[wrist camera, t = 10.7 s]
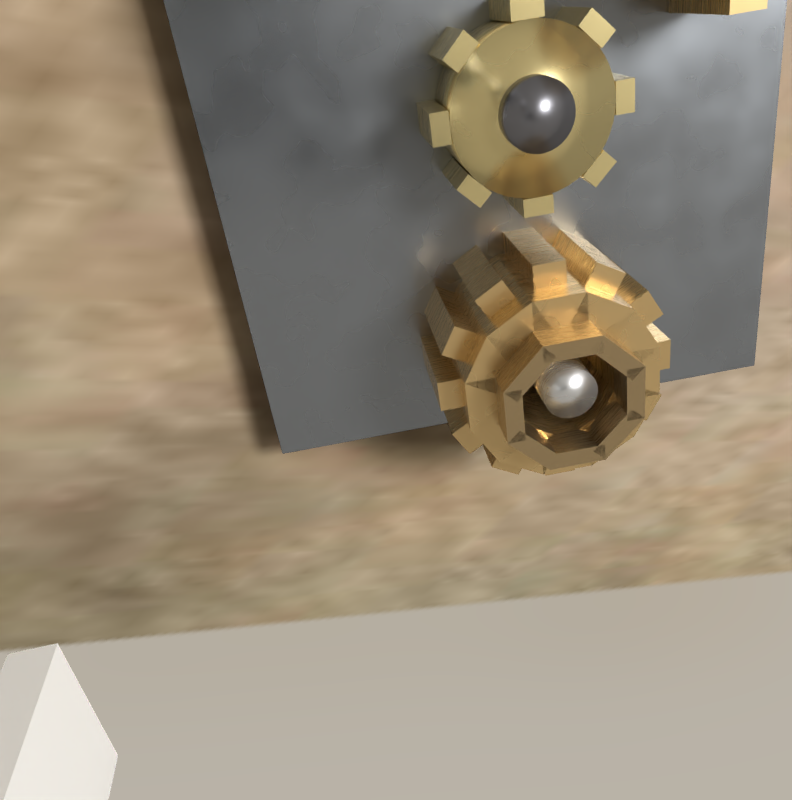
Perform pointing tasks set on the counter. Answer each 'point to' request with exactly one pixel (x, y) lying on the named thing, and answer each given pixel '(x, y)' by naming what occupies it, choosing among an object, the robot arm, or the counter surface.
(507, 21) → the carrier
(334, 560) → the counter surface
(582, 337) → the gear
